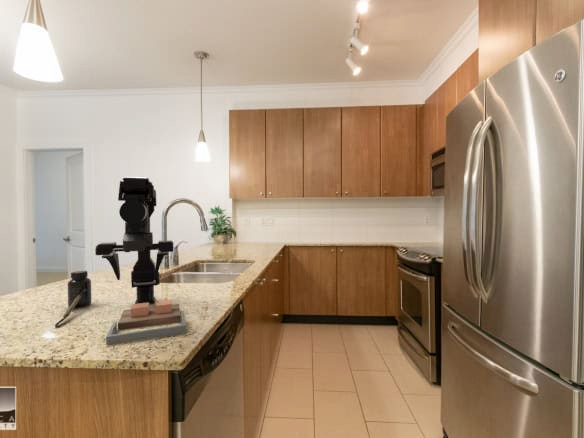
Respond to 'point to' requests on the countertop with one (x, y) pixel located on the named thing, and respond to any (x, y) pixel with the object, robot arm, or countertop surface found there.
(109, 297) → the countertop surface
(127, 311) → the walnut board
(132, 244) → the robot arm
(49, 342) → the countertop surface
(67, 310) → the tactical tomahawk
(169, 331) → the tray
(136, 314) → the tile
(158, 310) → the block
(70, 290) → the supplement bottle
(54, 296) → the countertop surface
